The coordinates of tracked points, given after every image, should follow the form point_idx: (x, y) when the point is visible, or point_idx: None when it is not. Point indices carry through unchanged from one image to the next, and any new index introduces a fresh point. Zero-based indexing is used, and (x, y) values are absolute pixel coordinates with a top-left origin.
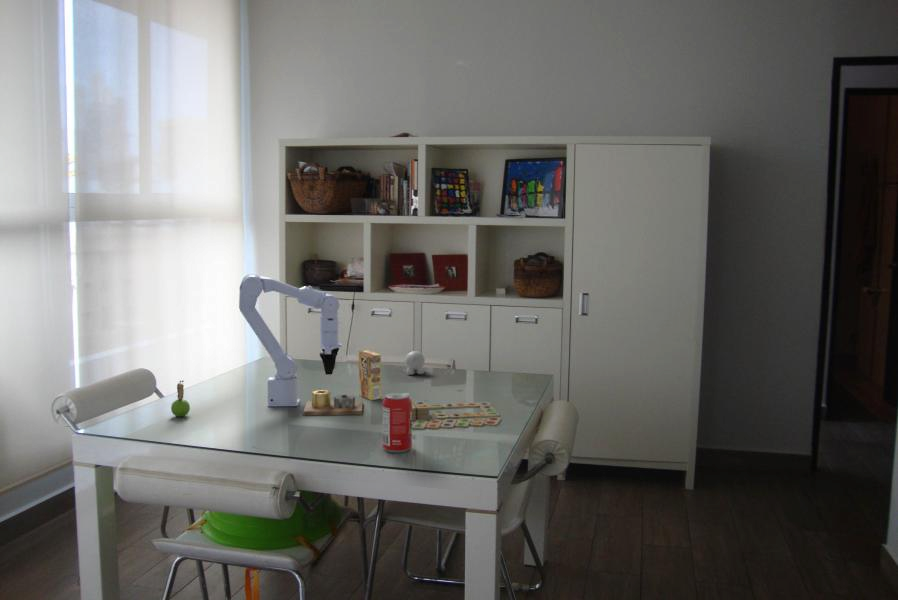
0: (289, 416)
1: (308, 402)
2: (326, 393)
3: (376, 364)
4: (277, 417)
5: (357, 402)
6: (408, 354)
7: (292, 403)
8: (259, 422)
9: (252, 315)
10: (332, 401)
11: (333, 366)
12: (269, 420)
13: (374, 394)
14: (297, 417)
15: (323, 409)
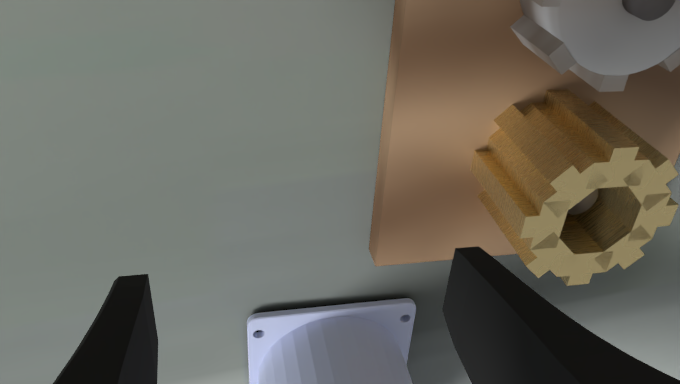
0: (622, 286)
1: (417, 253)
2: (671, 173)
3: None
4: (618, 332)
5: None
6: None
7: (389, 333)
8: (674, 374)
9: None
10: (417, 89)
11: (553, 307)
12: (658, 349)
13: None
14: (660, 246)
15: (645, 129)
